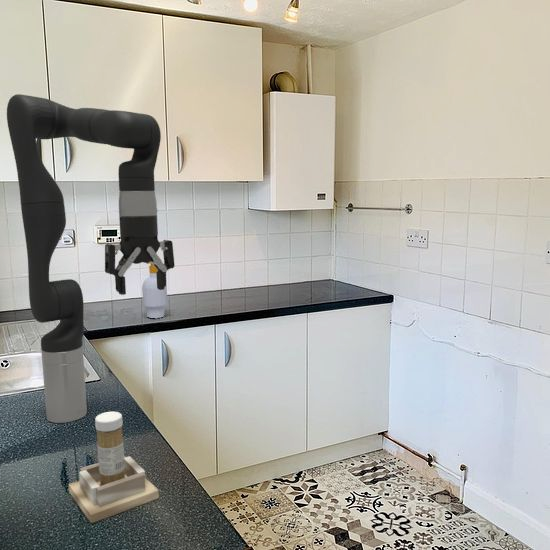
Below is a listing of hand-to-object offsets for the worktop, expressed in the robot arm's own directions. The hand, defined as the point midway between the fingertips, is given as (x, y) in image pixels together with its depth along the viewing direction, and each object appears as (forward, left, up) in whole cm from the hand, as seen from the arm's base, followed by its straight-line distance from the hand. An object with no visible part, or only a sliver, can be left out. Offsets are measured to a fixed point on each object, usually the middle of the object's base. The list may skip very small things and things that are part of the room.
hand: (141, 291), depth 113 cm
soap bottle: (-108, +52, -33) cm, 124 cm away
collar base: (+16, -14, -33) cm, 39 cm away
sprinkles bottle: (+16, -14, -32) cm, 38 cm away
